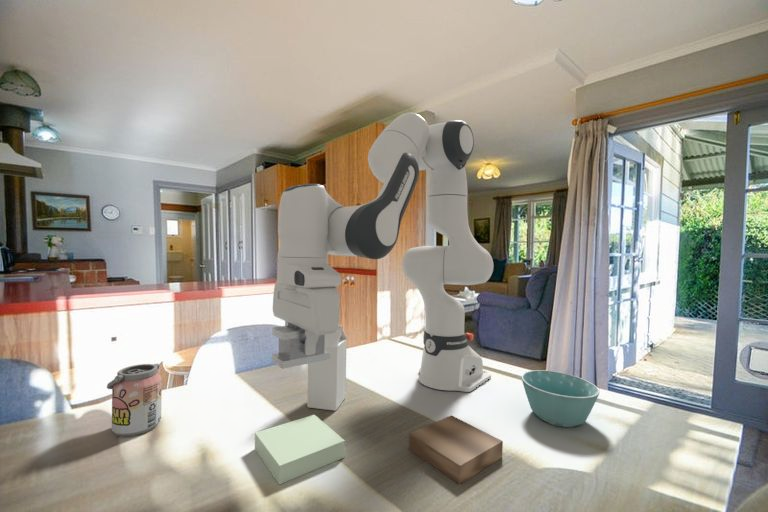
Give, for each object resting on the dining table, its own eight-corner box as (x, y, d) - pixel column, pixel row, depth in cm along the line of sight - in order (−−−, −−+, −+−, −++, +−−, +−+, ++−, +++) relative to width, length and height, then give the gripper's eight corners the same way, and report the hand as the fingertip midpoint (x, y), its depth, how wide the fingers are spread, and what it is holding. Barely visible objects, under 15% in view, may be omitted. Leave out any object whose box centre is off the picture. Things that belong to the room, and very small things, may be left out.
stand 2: (451, 429, 71) (451, 415, 71) (502, 457, 62) (502, 441, 62) (408, 449, 64) (409, 433, 64) (459, 484, 54) (460, 465, 54)
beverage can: (97, 432, 67) (97, 372, 67) (140, 413, 75) (141, 359, 75) (129, 442, 64) (129, 379, 64) (170, 421, 72) (171, 365, 71)
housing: (271, 360, 61) (272, 327, 61) (317, 352, 66) (317, 321, 66) (282, 368, 57) (283, 333, 57) (330, 359, 62) (330, 326, 62)
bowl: (605, 418, 78) (606, 382, 78) (588, 445, 66) (590, 403, 66) (534, 396, 88) (535, 365, 88) (509, 417, 77) (510, 381, 77)
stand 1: (313, 428, 70) (314, 414, 70) (344, 457, 61) (345, 440, 61) (254, 448, 63) (254, 432, 63) (279, 484, 53) (279, 465, 53)
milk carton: (335, 411, 78) (337, 329, 78) (307, 408, 79) (308, 327, 79) (345, 398, 85) (347, 323, 85) (318, 395, 86) (320, 321, 86)
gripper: (265, 270, 67) (263, 339, 68) (311, 277, 51) (310, 368, 52) (295, 270, 71) (293, 335, 72) (347, 276, 55) (345, 361, 55)
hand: (301, 349), depth 61 cm, fingers closed on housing, 5 cm apart
